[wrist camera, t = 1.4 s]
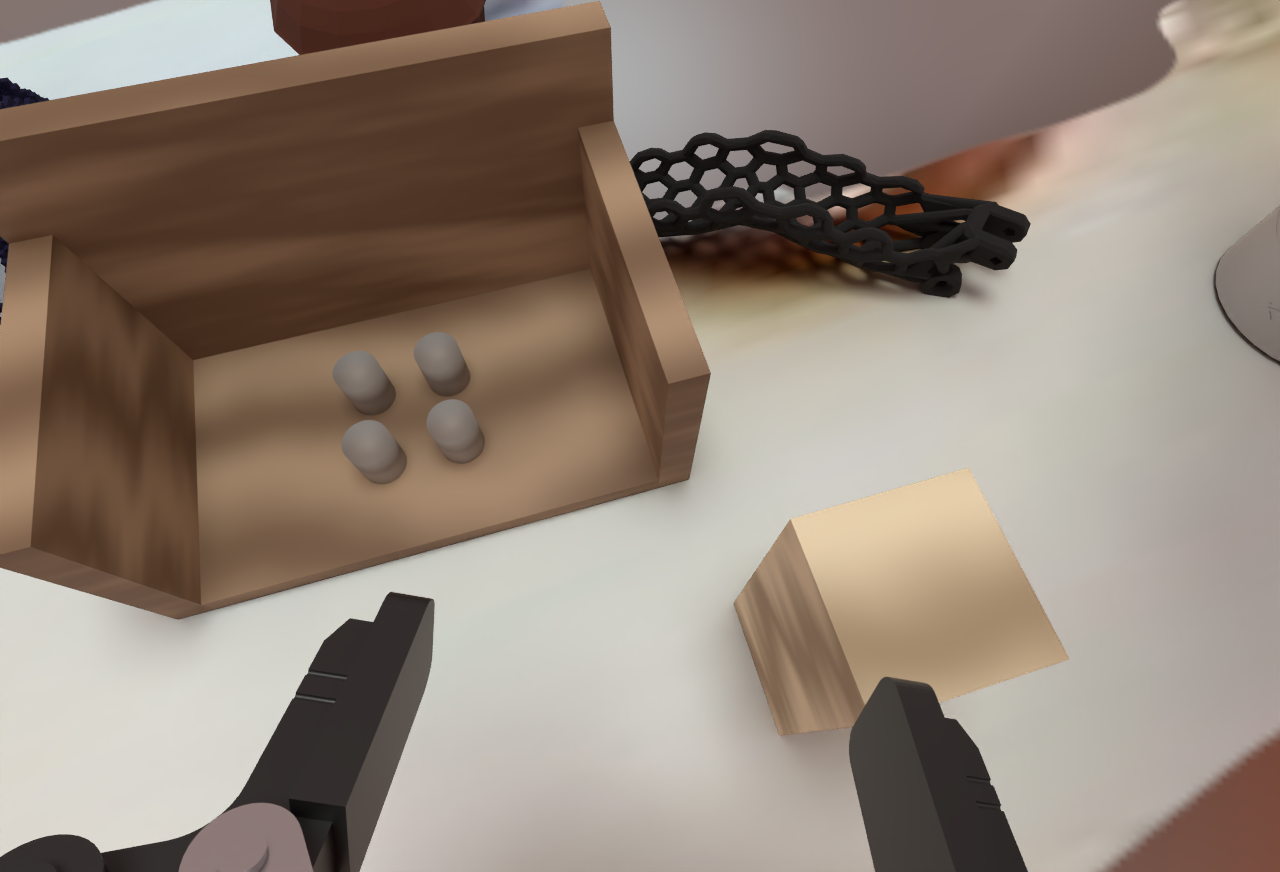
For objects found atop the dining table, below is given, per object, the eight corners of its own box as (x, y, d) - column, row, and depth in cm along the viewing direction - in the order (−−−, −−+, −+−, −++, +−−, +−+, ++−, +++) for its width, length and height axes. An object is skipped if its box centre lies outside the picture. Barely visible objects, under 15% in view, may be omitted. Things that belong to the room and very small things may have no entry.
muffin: (421, 198, 40) (357, 32, 30) (282, 120, 42) (184, -55, 33) (546, 77, 44) (522, -100, 35) (412, 13, 46) (357, -168, 37)
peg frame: (173, 352, 35) (-89, 125, 22) (610, 252, 38) (599, 0, 25) (178, 619, 30) (-165, 519, 17) (689, 479, 33) (724, 303, 20)
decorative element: (582, 255, 38) (573, 175, 33) (599, 186, 40) (595, 100, 35) (994, 316, 37) (1056, 243, 32) (991, 241, 39) (1049, 161, 34)
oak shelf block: (733, 603, 30) (790, 519, 19) (849, 568, 31) (968, 467, 20) (779, 735, 28) (872, 724, 17) (903, 694, 29) (1069, 659, 18)
